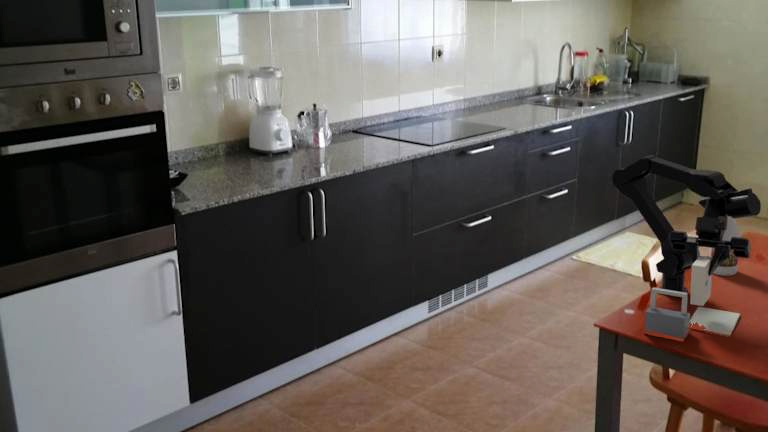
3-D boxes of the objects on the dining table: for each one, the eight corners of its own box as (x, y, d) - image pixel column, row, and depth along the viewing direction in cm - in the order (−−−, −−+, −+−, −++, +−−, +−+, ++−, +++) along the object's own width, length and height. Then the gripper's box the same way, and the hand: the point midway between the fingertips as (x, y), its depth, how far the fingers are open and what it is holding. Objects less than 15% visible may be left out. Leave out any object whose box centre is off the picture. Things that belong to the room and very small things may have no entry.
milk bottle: (702, 269, 232) (707, 204, 226) (722, 265, 234) (728, 200, 229) (721, 278, 225) (727, 210, 219) (742, 273, 227) (749, 207, 222)
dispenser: (650, 325, 196) (653, 283, 193) (688, 332, 191) (692, 289, 188) (644, 334, 191) (647, 291, 188) (683, 342, 186) (686, 298, 183)
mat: (698, 308, 205) (698, 306, 204) (739, 315, 199) (740, 313, 199) (686, 328, 193) (686, 326, 193) (730, 336, 188) (730, 334, 188)
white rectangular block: (698, 293, 199) (699, 255, 197) (711, 295, 198) (712, 257, 195) (689, 303, 193) (691, 265, 190) (703, 305, 191) (705, 266, 189)
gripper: (671, 199, 199) (657, 253, 193) (751, 206, 188) (739, 263, 183) (678, 222, 207) (665, 274, 201) (755, 229, 197) (744, 285, 191)
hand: (702, 274), depth 194 cm, fingers closed on white rectangular block, 3 cm apart
